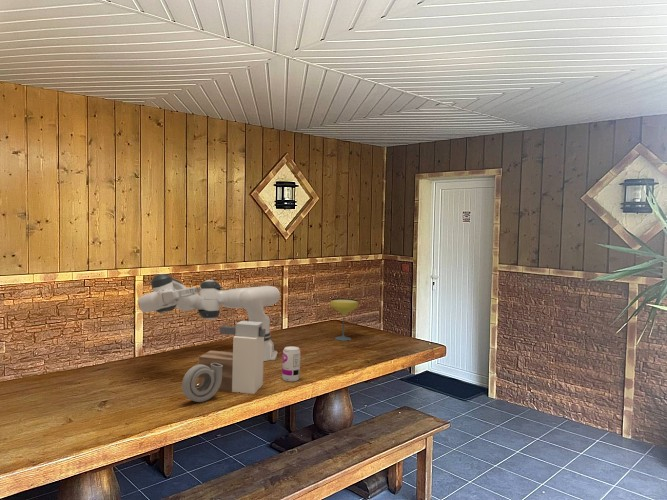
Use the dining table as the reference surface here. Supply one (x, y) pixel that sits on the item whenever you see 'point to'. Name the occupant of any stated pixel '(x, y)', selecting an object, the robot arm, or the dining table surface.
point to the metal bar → (232, 330)
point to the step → (227, 368)
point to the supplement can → (291, 364)
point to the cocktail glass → (344, 310)
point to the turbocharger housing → (209, 385)
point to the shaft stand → (247, 357)
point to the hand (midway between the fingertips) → (195, 289)
